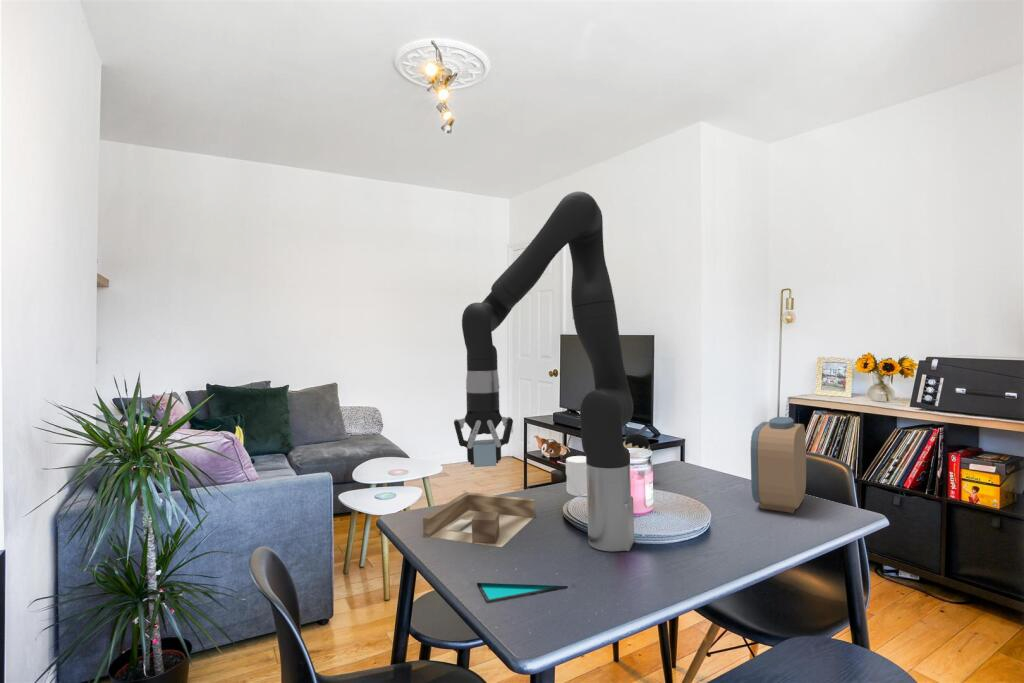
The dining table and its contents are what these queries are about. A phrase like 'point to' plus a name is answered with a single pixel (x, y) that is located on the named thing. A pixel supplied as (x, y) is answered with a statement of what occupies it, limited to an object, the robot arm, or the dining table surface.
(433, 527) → the tray
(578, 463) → the mug
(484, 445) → the block
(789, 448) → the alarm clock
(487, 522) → the walnut block
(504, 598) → the flat teal bar
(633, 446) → the toy
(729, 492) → the dining table surface
